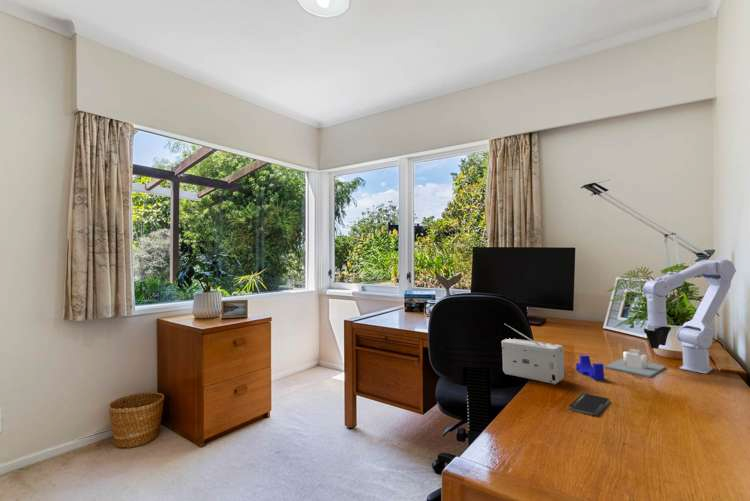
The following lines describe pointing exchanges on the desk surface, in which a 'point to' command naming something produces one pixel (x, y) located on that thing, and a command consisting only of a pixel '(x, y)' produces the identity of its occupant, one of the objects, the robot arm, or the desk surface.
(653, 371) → the desk mat
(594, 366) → the blue notched block
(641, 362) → the connector plug
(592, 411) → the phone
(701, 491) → the desk surface
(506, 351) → the stereo radio cassette player
